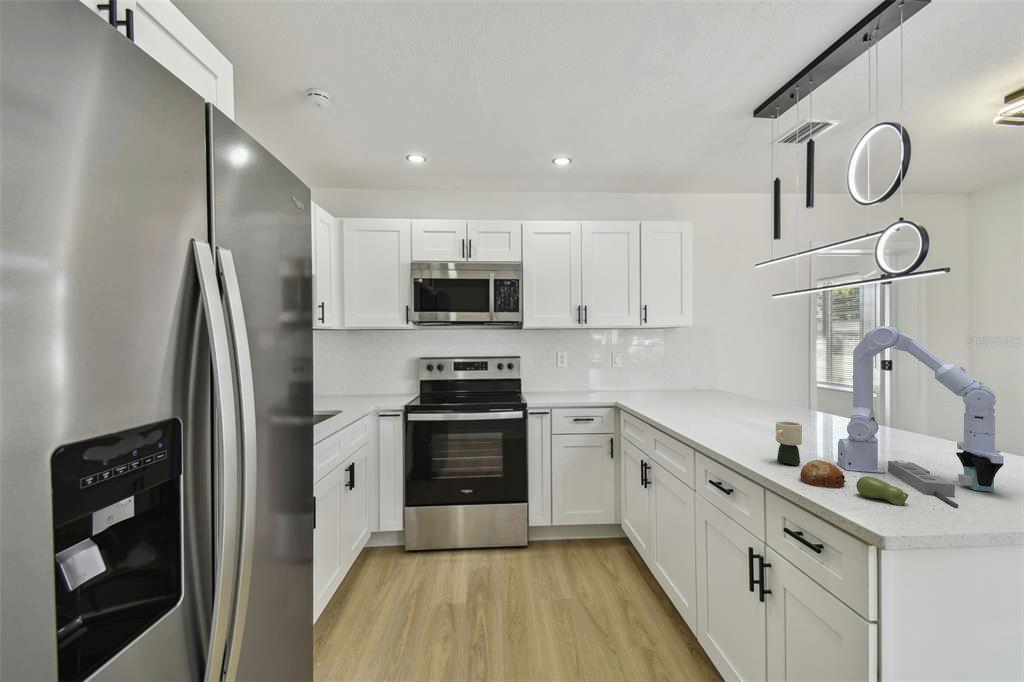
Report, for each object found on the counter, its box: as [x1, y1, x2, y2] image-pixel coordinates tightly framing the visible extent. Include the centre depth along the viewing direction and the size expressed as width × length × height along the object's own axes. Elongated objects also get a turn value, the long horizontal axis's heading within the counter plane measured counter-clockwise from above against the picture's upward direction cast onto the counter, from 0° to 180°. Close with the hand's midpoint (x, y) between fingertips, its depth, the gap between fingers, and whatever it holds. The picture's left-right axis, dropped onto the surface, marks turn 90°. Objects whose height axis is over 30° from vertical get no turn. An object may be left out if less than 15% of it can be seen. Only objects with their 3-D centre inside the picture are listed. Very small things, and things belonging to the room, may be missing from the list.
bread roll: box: [799, 459, 846, 489], centre depth 124 cm, size 10×10×8 cm
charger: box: [957, 466, 995, 492], centre depth 118 cm, size 6×4×5 cm
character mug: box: [775, 420, 803, 466], centre depth 141 cm, size 11×7×13 cm, turn 115°
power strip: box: [887, 459, 959, 508], centre depth 119 cm, size 6×28×4 cm, turn 161°
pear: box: [855, 475, 909, 506], centre depth 111 cm, size 6×5×10 cm
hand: (978, 483), depth 118 cm, fingers closed on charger, 4 cm apart
